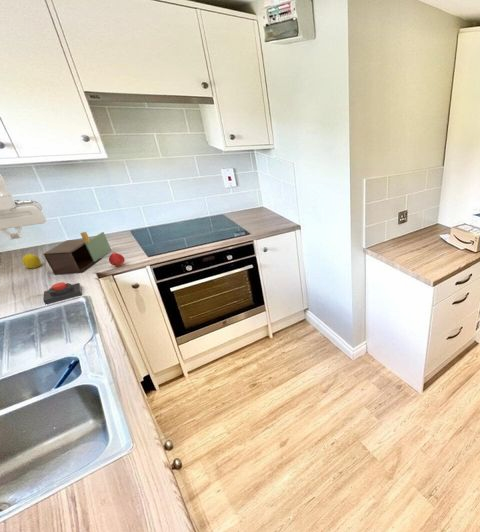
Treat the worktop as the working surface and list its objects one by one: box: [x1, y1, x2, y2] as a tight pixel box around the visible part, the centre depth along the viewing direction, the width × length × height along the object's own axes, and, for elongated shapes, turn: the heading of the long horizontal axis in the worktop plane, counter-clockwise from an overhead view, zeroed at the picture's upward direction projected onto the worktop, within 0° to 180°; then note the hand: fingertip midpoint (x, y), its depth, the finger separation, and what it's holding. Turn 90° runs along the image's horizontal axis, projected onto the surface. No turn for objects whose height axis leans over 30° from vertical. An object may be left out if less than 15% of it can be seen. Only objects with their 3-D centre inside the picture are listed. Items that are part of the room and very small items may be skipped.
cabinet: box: [43, 238, 103, 276], centre depth 156 cm, size 16×11×11 cm
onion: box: [108, 251, 126, 267], centre depth 157 cm, size 6×6×8 cm
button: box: [51, 281, 67, 291], centre depth 133 cm, size 4×4×2 cm
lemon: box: [21, 253, 42, 269], centre depth 153 cm, size 6×6×8 cm
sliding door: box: [80, 231, 112, 262], centre depth 164 cm, size 15×1×15 cm, turn 13°
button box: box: [42, 282, 83, 306], centre depth 134 cm, size 11×9×4 cm
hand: (16, 238), depth 125 cm, fingers closed
